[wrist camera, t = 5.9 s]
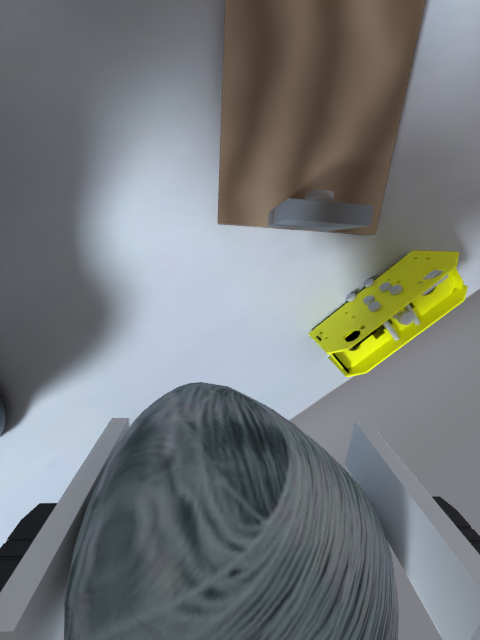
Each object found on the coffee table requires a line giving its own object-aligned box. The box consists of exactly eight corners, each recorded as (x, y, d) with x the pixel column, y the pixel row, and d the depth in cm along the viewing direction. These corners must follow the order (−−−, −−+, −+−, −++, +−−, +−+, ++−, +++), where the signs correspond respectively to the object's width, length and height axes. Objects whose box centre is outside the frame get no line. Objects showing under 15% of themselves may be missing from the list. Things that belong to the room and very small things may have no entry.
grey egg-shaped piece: (45, 421, 10) (-355, 1393, 2) (239, 295, 9) (874, 1641, 1) (222, 483, 18) (265, 733, 11) (334, 425, 17) (474, 663, 9)
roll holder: (217, 224, 28) (215, 213, 19) (228, -77, 21) (232, -327, 12) (367, 235, 29) (433, 230, 20) (424, -42, 22) (563, -239, 13)
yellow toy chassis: (405, 247, 30) (471, 247, 22) (426, 281, 32) (494, 293, 24) (304, 329, 32) (330, 356, 24) (327, 357, 34) (360, 391, 26)
